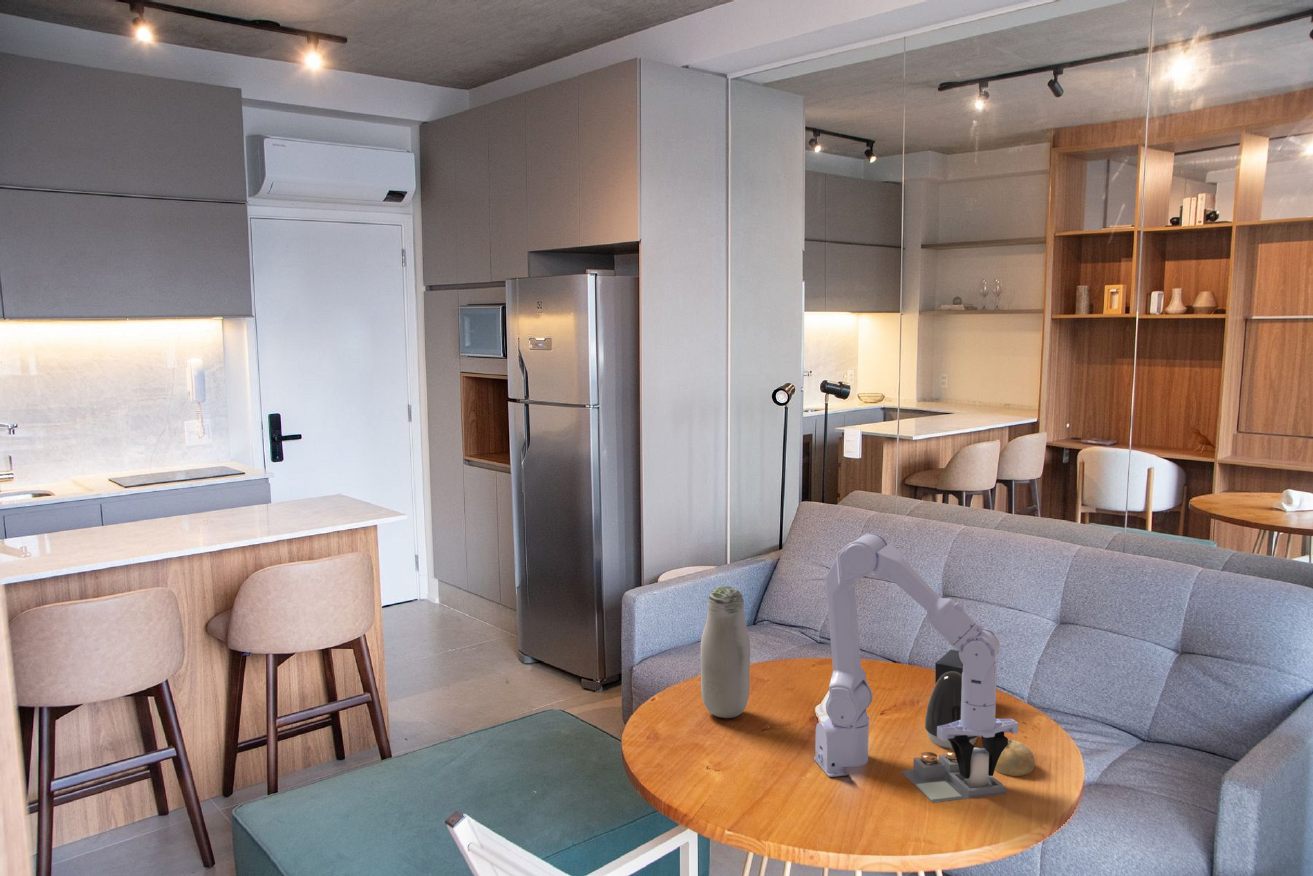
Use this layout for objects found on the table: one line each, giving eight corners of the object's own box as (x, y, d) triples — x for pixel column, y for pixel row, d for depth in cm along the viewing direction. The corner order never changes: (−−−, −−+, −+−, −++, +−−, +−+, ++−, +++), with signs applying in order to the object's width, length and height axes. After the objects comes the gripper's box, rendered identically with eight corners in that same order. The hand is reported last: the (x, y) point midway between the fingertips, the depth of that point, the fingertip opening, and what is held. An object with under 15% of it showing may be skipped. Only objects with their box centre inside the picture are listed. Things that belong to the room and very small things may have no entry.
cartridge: (971, 791, 163) (972, 755, 162) (959, 781, 166) (960, 746, 166) (992, 789, 163) (993, 753, 163) (980, 778, 167) (981, 743, 167)
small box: (949, 693, 212) (950, 648, 211) (978, 699, 208) (979, 653, 207) (932, 708, 203) (933, 661, 202) (962, 714, 199) (964, 667, 198)
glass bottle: (692, 717, 200) (691, 588, 197) (721, 702, 207) (721, 578, 204) (730, 729, 193) (729, 596, 190) (758, 713, 201) (758, 586, 198)
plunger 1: (925, 774, 168) (925, 759, 167) (918, 767, 170) (918, 752, 170) (939, 773, 168) (940, 758, 168) (932, 766, 171) (932, 751, 171)
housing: (932, 811, 159) (932, 789, 159) (899, 778, 171) (900, 758, 170) (1006, 802, 162) (1007, 781, 161) (969, 771, 174) (970, 751, 173)
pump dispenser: (983, 760, 178) (985, 683, 176) (926, 756, 180) (928, 679, 178) (976, 738, 188) (978, 664, 186) (922, 734, 190) (924, 661, 188)
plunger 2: (951, 771, 169) (951, 756, 168) (943, 764, 171) (943, 750, 171) (965, 770, 169) (965, 755, 169) (957, 763, 172) (957, 748, 172)
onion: (1001, 761, 178) (1002, 725, 177) (1042, 775, 172) (1043, 738, 171) (979, 775, 172) (980, 737, 171) (1021, 790, 166) (1022, 751, 166)
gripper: (952, 712, 158) (950, 789, 159) (1029, 705, 161) (1026, 780, 162) (931, 697, 165) (929, 771, 166) (1006, 690, 168) (1003, 763, 169)
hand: (976, 774), depth 165 cm, fingers closed on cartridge, 4 cm apart
